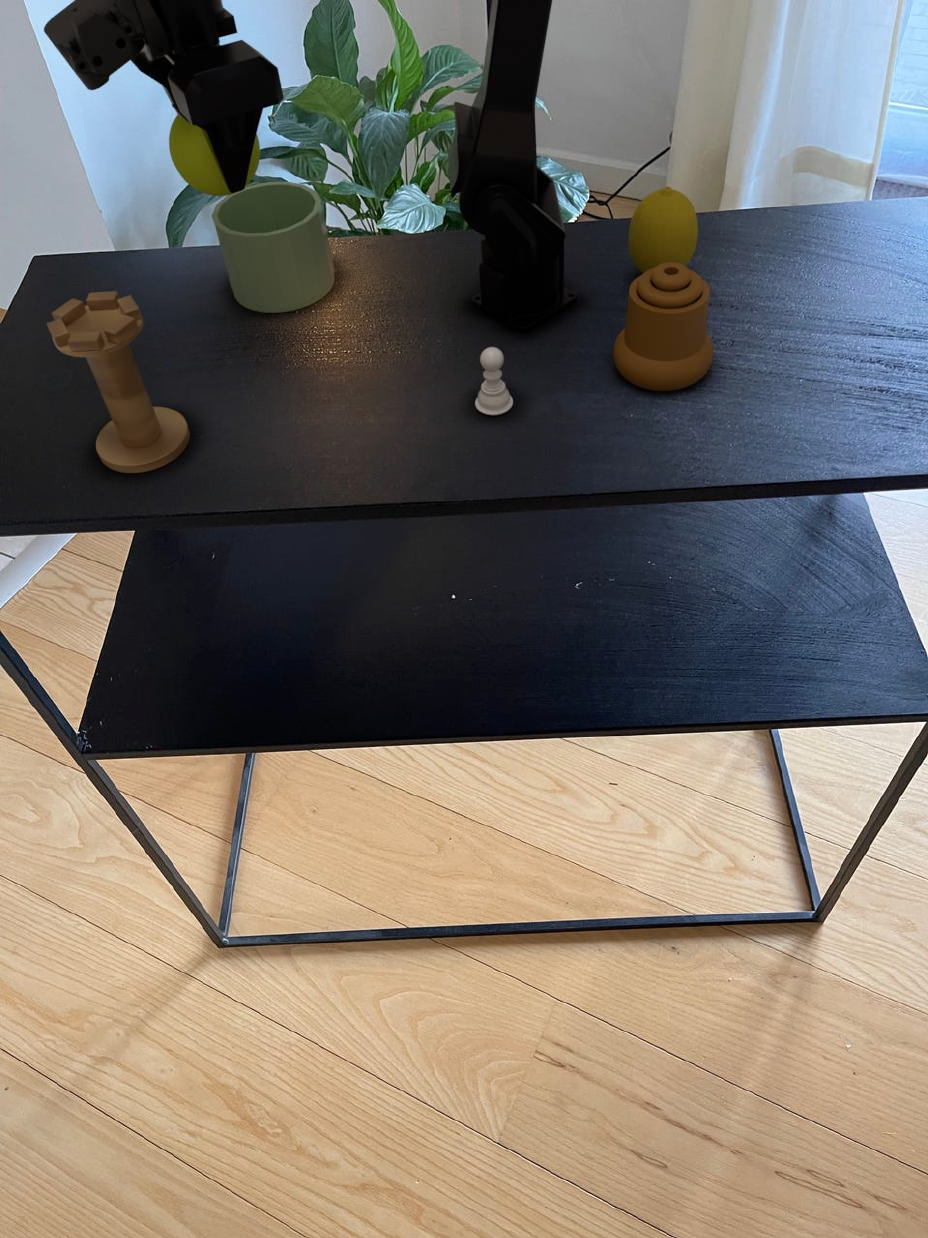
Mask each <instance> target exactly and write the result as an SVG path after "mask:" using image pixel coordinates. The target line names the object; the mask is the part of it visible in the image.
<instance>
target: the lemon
mask: <svg viewBox="0 0 928 1238" xmlns="http://www.w3.org/2000/svg"><path fill="white" fill-rule="evenodd" d="M698 222H699V221H698V216H697V211H696V209H695V206H694V204H693V203H692V201H691V199H689V198H688V196H686V195H685V194H684V193H683V192H680V191H679V190H677V189H673V188H672V187H671V186H664V187H662V188H661V189H657V190H655V191H652V192H650V193H649V194H648V195H646V196H645V197H643V198H642V200H640V202H639V203H638V204H637V206H636V208H635V209H634V212H633V214H632V217H631V219H630V224H629V228H628V229H629V230H628V239H627V240H628V244H627V245H628V252H629V256H630V258H631V261H632V263H633V265H634V266H635V268H636V269H637V270H638V271H640V273H641V274H643V273H645V272H646V271H648V270H650V269H652V268H655V267H656V266H658V265H660V264H663V263H668V262H674V263H679V264H682V265H684V266H686V267H687V266H688V264H689V263H690V262H691V260H692V258H693V256H694V255H695V254H694V253H695V252H696V251H695V250H696V246H697V243H698V236H699V223H698Z"/></svg>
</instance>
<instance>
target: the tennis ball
mask: <svg viewBox="0 0 928 1238" xmlns="http://www.w3.org/2000/svg"><path fill="white" fill-rule="evenodd" d="M168 136H169V137H168V148H169V154H170V158H171V161H172V163H173V166H174V167H175V169H176V171H177V173H178V174H179V175H180V177H181V178H182V180H183V181H185V183H187V184H188V185H189V186H190V187H192V188H193V189H194V190H196V191H197V192H200V193H202V194H205V195H208V196H215V197H226V196H227V195H231V194H233V193H231V192H230V191H229V190H228V188H227V186H226V183H225V181H224V179H223V177H222V175H221V173H220V170H219V168H218V166H217V163H216V161H215V159H214V157H213V154H212V152H211V150H210V148H209V145H208V143H207V141H206V138H205V136H204V134H203V132H202V129H201V128H200V127H198V126H196V125H192V124H191V123H189V122H187V121H186V120H184V119H183V118H182V116H181V115H180V114H179V113H178V115H177V114H176V115H175V118H174V119H173V121H172V123H171V126H170V129H169V135H168ZM260 159H261V146H260V140H259V136H258V132H257V133H256V138H255V142H254V146H253V151H252V156H251V161H250V166H249V170H248V175H247V180H246V185H245V187H247V185H249V184H250V182H251V181H252V180H253V178H254V177H255V175H256V173H257V170H258V168H259V166H260V165H259V164H260Z"/></svg>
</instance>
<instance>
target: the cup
mask: <svg viewBox="0 0 928 1238" xmlns="http://www.w3.org/2000/svg"><path fill="white" fill-rule="evenodd" d="M211 219H212V223H213V227H214V231H215V233H216V237H217V241H218V245H219V248H220V252H221V255H222V260H223V263H224V266H225V270H226V274H227V278H228V281H229V284H230V288H231V290H232V293H233V297H234V299H235V300H236V302H238V304H240V306H242V307H244V308H246V309H249V310H251V311H254V312H259V313H268V314H279V313H287V312H293V311H297V310H300V309H303V308H306V307H308V306H311V305H314V304H316V303H317V302H319V301H320V300H321V299H323V298H325V296H326V295H328V294H329V292H330V291H331V290H332V288H333V286H334V283H335V265H334V261H333V256H332V250H331V244H330V239H329V234H328V228H327V223H326V218H325V212H324V207H323V201H322V198H321V197H320V195H319V193H318V192H317V190H315V189H313V188H311V187H309V186H307V185H305V184H303V183H297V182H291V181H267V182H262V183H256V184H253V185H249V186H245V188H244V190H242V191H239V192H236V193H233V194H231V195H226V196H224V198H223V199H221V200H220V201H219V202H218V203H216V205H215V206H214V209H213V211H212V214H211Z"/></svg>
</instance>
